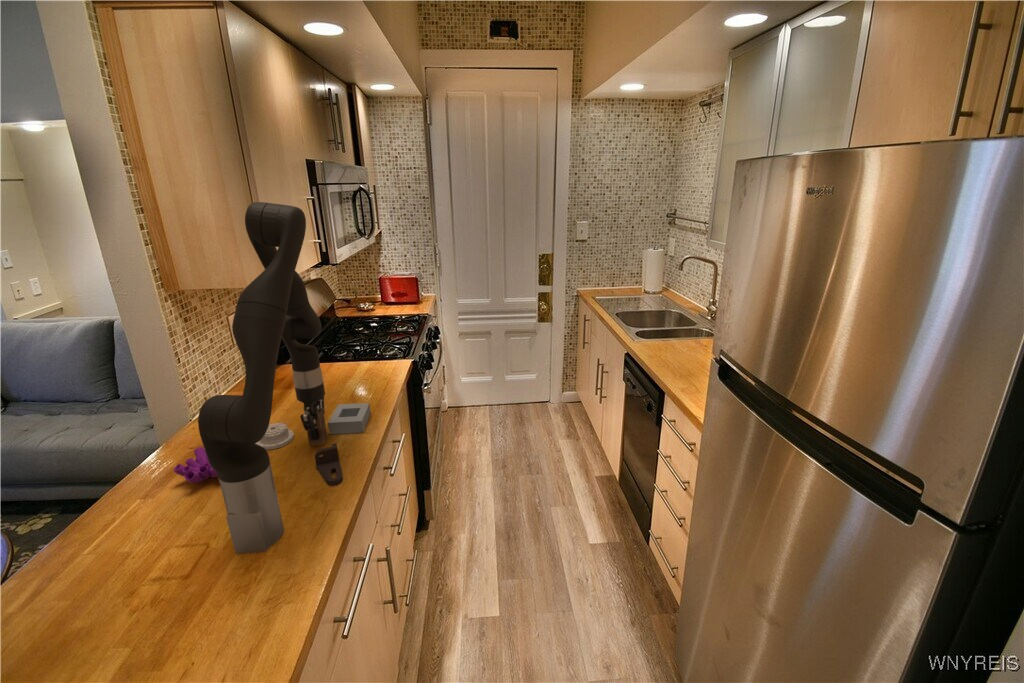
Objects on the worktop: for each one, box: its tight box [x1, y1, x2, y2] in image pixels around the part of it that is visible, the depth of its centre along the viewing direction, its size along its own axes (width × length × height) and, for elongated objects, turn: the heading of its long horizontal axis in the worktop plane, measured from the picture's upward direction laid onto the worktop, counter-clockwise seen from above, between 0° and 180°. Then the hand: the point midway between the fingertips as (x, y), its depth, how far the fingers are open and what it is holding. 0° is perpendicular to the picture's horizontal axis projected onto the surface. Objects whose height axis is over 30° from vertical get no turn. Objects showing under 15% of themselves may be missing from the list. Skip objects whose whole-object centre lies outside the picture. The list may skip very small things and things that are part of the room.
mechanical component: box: [255, 422, 295, 451], centre depth 132 cm, size 10×4×10 cm
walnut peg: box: [306, 408, 328, 447], centre depth 130 cm, size 4×4×10 cm
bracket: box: [314, 442, 344, 487], centre depth 117 cm, size 6×12×5 cm, turn 26°
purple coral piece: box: [173, 446, 218, 484], centre depth 115 cm, size 11×15×10 cm
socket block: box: [327, 402, 372, 435], centre depth 141 cm, size 12×10×4 cm
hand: (317, 435), depth 131 cm, fingers closed on walnut peg, 4 cm apart
